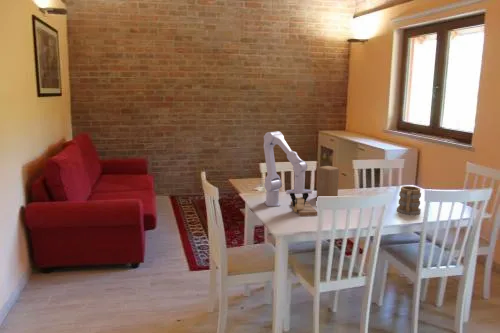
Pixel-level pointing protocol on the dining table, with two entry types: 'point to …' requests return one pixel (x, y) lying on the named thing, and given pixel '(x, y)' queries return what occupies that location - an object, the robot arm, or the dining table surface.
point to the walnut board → (306, 210)
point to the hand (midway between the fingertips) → (298, 205)
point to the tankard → (409, 200)
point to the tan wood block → (298, 204)
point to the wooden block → (327, 181)
